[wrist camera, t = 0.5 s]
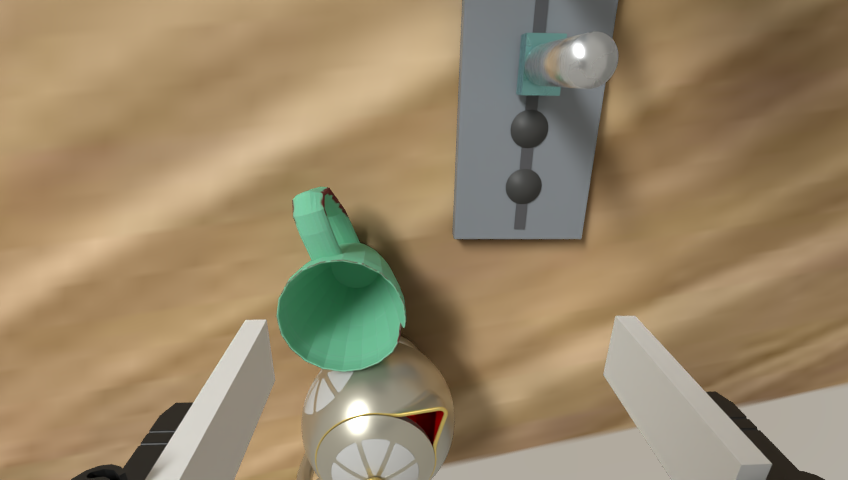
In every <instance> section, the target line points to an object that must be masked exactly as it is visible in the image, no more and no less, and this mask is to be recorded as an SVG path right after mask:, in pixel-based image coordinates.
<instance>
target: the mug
mask: <svg viewBox="0 0 848 480" xmlns="http://www.w3.org/2000/svg"><path fill="white" fill-rule="evenodd" d="M292 204H293V218H294V221H295V223H296V226H297V228H298V231H299V234H300V236H301V238H302V240H303V243H304V245H305V247H306V249H307V251H308V253H309V255H310V258H311V261H309V262H308V263H306V264H305V265H304V266H303V267H302V268H300V269H299V270H298V271H297V272H296V273H295V274H294V275H293V276H291V278H290V279H289V280H288V282H287V284H286V286H285V288H284V290H283V292H282V293H281V295H280V297H279V300H278V308H277V316H276V317H277V321H278V325H279V329H280V333H281V335H282V336H283V338H284V340H285V341H286V343H287V344H288V346H289V347H290V349H291V350H292V351H294V352H295V353H296V354H297V355H298V356H300V357H301V358H302V359H303V360H305V361H306V362H308V363H311V364H313V365H315V366H317V367H320V368H322V369H326V370H333V371H339V372H347V371H356V370H362V369H365V368H368V367H370V366H373V365H375V364H378V363H379V362H381V361H382V360H383V359H385V358H386V357H387V356H388V355H390V354H391V353H392V352H393V351H394V349H395V348H396V346H397V344H398V343H399V339H400V336H401V325H402V327H403V328H405V325H406V310H405V301H404V296H403V294H402V292H401V289H400V286H399V284H398V282H397V280H396V278H395V276H394V274H393V272H392V270H391V269H390V267H389V265H388V263H387V262H386V261H385V260H384V259H383V258H382V257H381V256H380V255H379V254H378V253H377V252H376V251H375V250H374V249H372V248H371V247H369V246H367V245H365V244H361V243H360V242H359V240H358V237H357V235H356V233H355V231H354V228H353V226H352V224H351V222H350V220H349V217H348V215H347V213H346V211H345V209H344V208H343V206H342V205H341V204H340V202H339V201H338V199H337V198H336V197H335V195H334V194H333V192H332V191H331V190H330V188H328V187H317V188H314V189H310V190H308V191H306V192H303V193H301V194H299V195H296V196H295V198H294V199H293V200H292Z"/></svg>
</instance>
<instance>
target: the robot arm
mask: <svg viewBox="0 0 848 480" xmlns="http://www.w3.org/2000/svg"><path fill="white" fill-rule="evenodd" d="M603 375H604V376H605V378H606V380H607V381H608V383H609V384H610V386H611V387H612V389H613V390H614V392H615V394H616V395H617V397H618V398H619V400H620V401H621V403H622V404H623V406H624V407H625V409H626V411H627V412H628V414H629V415H630V417H631V418H632V420H633V421H634V423H635V424H636V426H637V428H638V429H639V431H640V432H641V434H642V435H643V437H644V438H645V440H646V441H647V443H648V445H649V446H650V448H651V449H652V451H653V452H654V454H655V455H656V457H657V458H658V460H659V462H660V463H661V465H662V466H663V468H664V469H665V471H666V472H667V474H668V476H669V477H670V479H671V480H825V479H823V478H821V477H819V476H817V475H814V474H810V473H807V472H804V471H799V470H798V469H797V468H796V467H795V466H794V465H793V464H792V463H791V462H790V461H789V460H788V459H787V458H786V457H785V456H784V455H783V454H782V453H781V452H780V450H779V449H778V448H776V446H775V445H774V444H773V443H772V442H771V441H770V440H769V439H768V438H767V437H766V436H765V435H764V434H763V433H762V432H761V431H758V430H757V427H756V426H755V425H754V424H753V423H752V422H751V421H750V420H749V419H747V418H746V416H745V415H744V414H743V413H742V412H741V411H740V410H739V409H738V408H737V406H736V405H735V404H734V403H732V402H731V401H729V400H728V399H726V398H725V397H723V396H721V395H720V394H718V393H717V392H705V391H704V390H703V389H702V388H701V386H700V385H699V384H698V383H697V382H696V381H695V380H694V379H693V378H692V377H691V376H690V375H689V373H688V372H687V371H686V370H685V369H684V368H683V367H682V366H681V365H680V364H679V363H678V362H677V361H676V359H675V358H674V357H673V356H672V355H671V354H670V353H669V352H668V351H667V350H666V349H665V348H664V346H663V345H662V344H661V343H660V342H659V341H658V340H657V339H656V338H655V337H654V336H653V335H652V334H651V332H650V331H649V330H648V329H647V328H646V327H645V326H644V325H643V324H642V323H641V322H640V321H639V319H638V318H637V317H636V316H615V321H614V326H613V330H612V335H611V340H610V345H609V350H608V355H607V359H606V364H605V369H604V374H603ZM274 382H275V375H274V368H273V361H272V354H271V347H270V340H269V333H268V326H267V320H245V321H244V323H243V325H242V326H241V328H240V329H239V331H238V333H237V334H236V336H235V337H234V339H233V341H232V342H231V344H230V345H229V347H228V349H227V350H226V352H225V353H224V355H223V357H222V358H221V360H220V361H219V363H218V364H217V366H216V368H215V369H214V371H213V372H212V374H211V376H210V377H209V379H208V380H207V382H206V384H205V385H204V387H203V388H202V390H201V392H200V393H199V395H198V396H197V398H196V399H195V401H194V403H175V404H174V405H173V406H171V407H170V408H169V409H168V410H166V411H165V412H164V413H163V414H162V415H160V416H159V418H158V419H157V421H156V422H155V423H154V425H153V426H152V428H151V429H150V432H149V434H147V435H146V436H145V438H144V439H143V441H142V442H141V445H140V446H138V448H137V449H136V451H135V452H134V453H133V455H132V456H131V458H130V459H129V461H128V462H127V463H126V465H125V466H124V468H123V469H122V468H121V467H120V466H116V465H112V464H110V465H101V466H97V467H95V468H92V469H89V470H86V471H84V472H83V473H81V474H79V475H78V476H76V477H74V478H73V479H71V480H234V479H235V476H236V474H237V471H238V469H239V467H240V464H241V462H242V459H243V457H244V454H245V452H246V450H247V447H248V445H249V442H250V440H251V437H252V435H253V433H254V430H255V428H256V425H257V423H258V421H259V418H260V416H261V413H262V411H263V408H264V406H265V404H266V401H267V399H268V396H269V394H270V391H271V389H272V387H273V384H274Z"/></svg>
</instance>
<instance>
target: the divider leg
mask: <svg viewBox="0 0 848 480" xmlns="http://www.w3.org/2000/svg"><path fill="white" fill-rule="evenodd" d="M617 64H618V49H617V46H616V44H615V42H614V40H613V39H612V38H611V37H610V36H608V35H607V34H605V33H602V32H589V33H585V34H581V35H576V36H572V37H568V38H567V34H565V33H525V34H522V35H521V44H520V56H519V67H518V79H517V90H516V94H517V95H541V96H560V89H561V87H566V88H582V89H592V88H596V87H599V86H601V85H603V84H604V83H606V82H607V81H608V80H609V79H610V78H611V76H612V75H613V73H614V72H615V70H616V67H617Z"/></svg>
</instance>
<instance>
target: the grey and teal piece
mask: <svg viewBox="0 0 848 480" xmlns="http://www.w3.org/2000/svg"><path fill="white" fill-rule="evenodd" d="M617 5H618V0H462V20H461V44H460V67H459V91H458V115H457V139H456V163H455V187H454V211H453V237H454V239H581V238H582V231H583V225H584V218H585V212H586V206H587V199H588V193H589V186H590V180H591V173H592V167H593V160H594V154H595V147H596V141H597V134H598V128H599V121H600V115H601V108H602V102H603V95H604V89H605V83H604V84H603V85H601V86H599V87H596V88H592V89H582V88H566V87H561V89H560V96H541V95H517V94H516V90H517V79H518V67H519V56H520V44H521V35H522V34H525V33H565V34H567V38H568V37H572V36H576V35H581V34H585V33H589V32H602V33H605V34H607V35H608V36H610V37H611V38H612V37H613V31H614V24H615V18H616V11H617Z"/></svg>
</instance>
